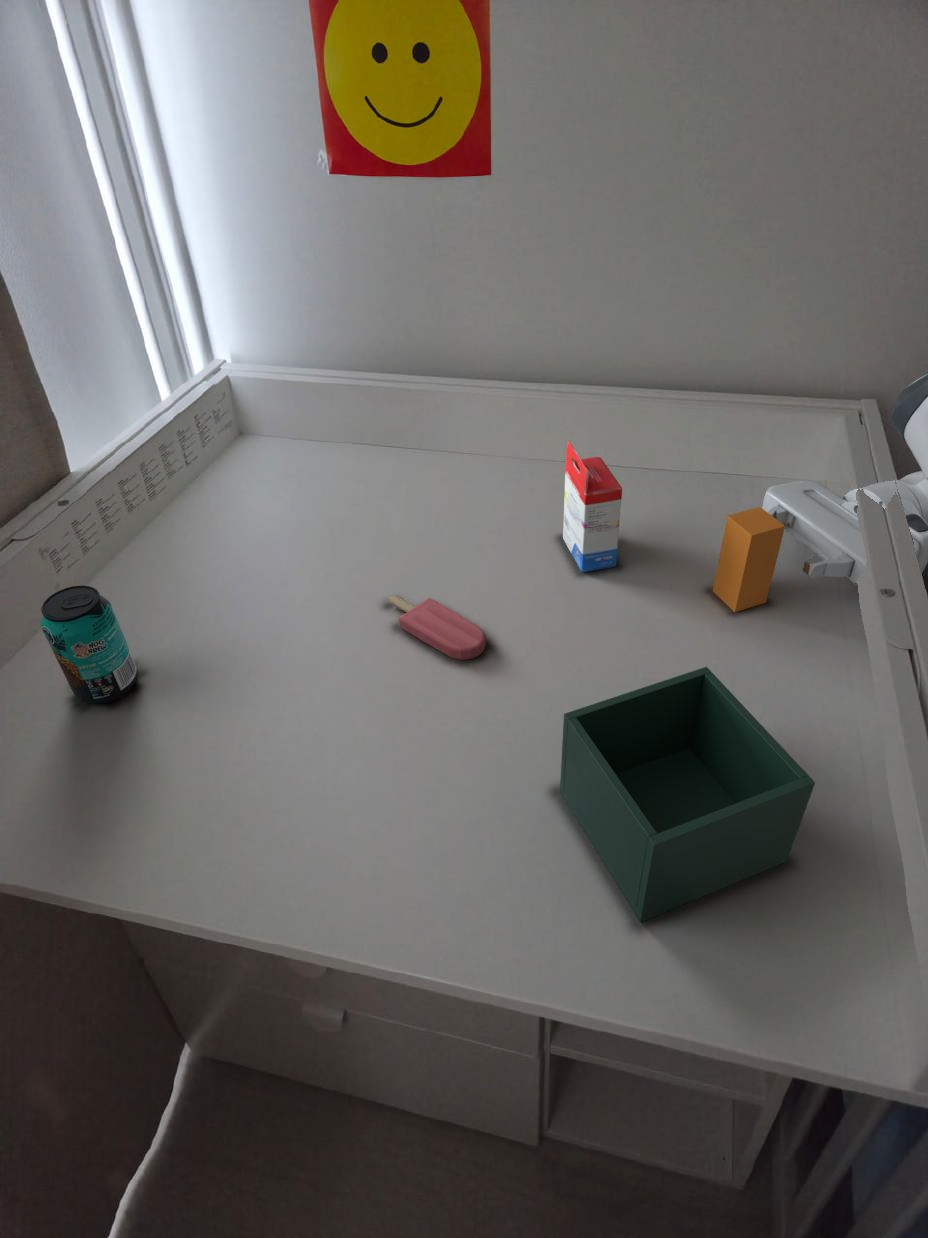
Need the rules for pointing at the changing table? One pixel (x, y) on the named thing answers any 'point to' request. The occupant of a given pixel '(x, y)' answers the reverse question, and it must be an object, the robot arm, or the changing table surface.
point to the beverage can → (88, 644)
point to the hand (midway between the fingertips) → (780, 548)
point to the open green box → (680, 790)
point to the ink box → (591, 512)
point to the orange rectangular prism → (747, 558)
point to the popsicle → (441, 628)
